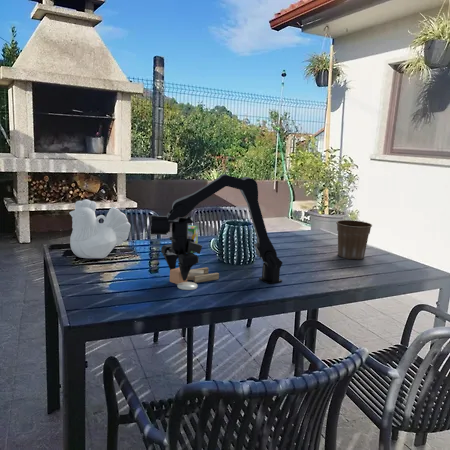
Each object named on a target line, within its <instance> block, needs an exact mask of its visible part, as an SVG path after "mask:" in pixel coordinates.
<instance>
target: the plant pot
mask: <svg viewBox="0 0 450 450" xmlns="http://www.w3.org/2000/svg"><path fill="white" fill-rule="evenodd" d="M372 227H373V224H372V223H369V222H367V221H359V220H353V219H352V220H351V219H348V220H347V219H343V220H342V219H341V220H337V221H336V230H337V255H338V257H341V258H343V259H348V260H353V259H354V260H362V259H364V258H365V255H366V250H367V244H368V239H369V235H370V234H371V230H372Z"/></svg>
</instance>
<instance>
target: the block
mask: <svg viewBox="0 0 450 450" xmlns="http://www.w3.org/2000/svg"><path fill="white" fill-rule="evenodd" d="M187 278H188V276H187ZM181 282H188V280H187V279H186V280H185V281H183V279H182V276H181V272H180V268H179V267H176V268H175V269H171V270H170V269H169V283H173V284H175V285H178V284H179V283H181Z"/></svg>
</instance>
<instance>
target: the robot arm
mask: <svg viewBox="0 0 450 450" xmlns="http://www.w3.org/2000/svg"><path fill="white" fill-rule="evenodd" d="M258 186H259V185H258V183H257V181H256V180H255V179H253V178H251V177H249V176H244V177H242V178H241V177H237V176H232V175H228V174H226V173H222V174H220V175H219V177H216V178H215V179H214V180H212V181H211V182H209V183H207V184H205V185H204V186H203V187H201V188H199V189H198V190H196V191H195V192H193V193H191V194H187V195H185V196H182V197H180V198H178V199H176V200H174V201H173V202H172V207H171V209H170V211H169V212H167V214H166V215H157V214H152V215H151V222H150V235H154V236H156V235H158V236H160V235H164V236H165V235H167V234H169V233H170V232H171V236H169V241H171V244H170V243H169V244H163V245H162V246H161V248H160V249H161V251H160V253H162V256H163V257H164V261H165V262H166V265H167V266H168V268H169V271H170V270H171V269H175V268H177V264H178V268H180V272H181V276H182V279H183V281H185V280H186V279H187V276H188V274H189V271H190V270H191V269H192V267H193V266H194V265H196V264H198V263H200V262H199V261H200V259H199V257H200V256H198V255H197V254H199V255H200V254H201V251H202V248H203V245H202V244H199V243H198V244H197V243H194V240H193V239H191V238H188V225H189V224H194V219H193V218H191V216H190V215H188V214H190V213H191V212H192V211H193V210H194V209H195V208H196V207H197V206H198V205H199V204H200V203H202V202H203V201H205V200H206V199H208V198H209V197H211V196H212V195H214V194H217V192H220V190H222V189H224V188H225V187H228V188H233V189H235V190H236V189H237V190H239V191H240V194H241V195H242V197H243V198H244V201H245V203H246V204H247V205H246V206H247V207H248V211H249V215H250V218H251V223H252V225H253V229H254V232H255V236H256V243H253V246H254V248H255V254H256V255H257V256H258V257H259V258H260V259H261V260H262V262H263V263H262V270H261V274H262V275H261V277H258V279H259V280H260V281H263V282H265V283H267V284H269V285H271V284H276V283H281V282H283V280H282V279H281V278H280V273H281V268H282V265H283V261H282V260H281V259H280V258H279V257H278V254H277V251H276V249H275V247H274V245H273V243H272V241H271V239H270V238H269V235H268V231H267V228H266V225H265V221H264V217H263V215H262V211H261V207H260V203H259V188H258ZM191 251H193V252H194V253H190V252H191ZM187 252H188V253H187ZM195 253H197V254H195ZM177 259H178V263H177Z"/></svg>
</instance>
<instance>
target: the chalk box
mask: <svg viewBox="0 0 450 450" xmlns="http://www.w3.org/2000/svg"><path fill="white" fill-rule="evenodd" d="M198 234H199V226H198V225H191V224H188V238H191V239H193V240H194V243H197V244H199V240H198V237H199V235H198ZM187 253H188V252H187ZM190 253H193V254H195V252H193V251H191V252H190Z"/></svg>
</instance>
